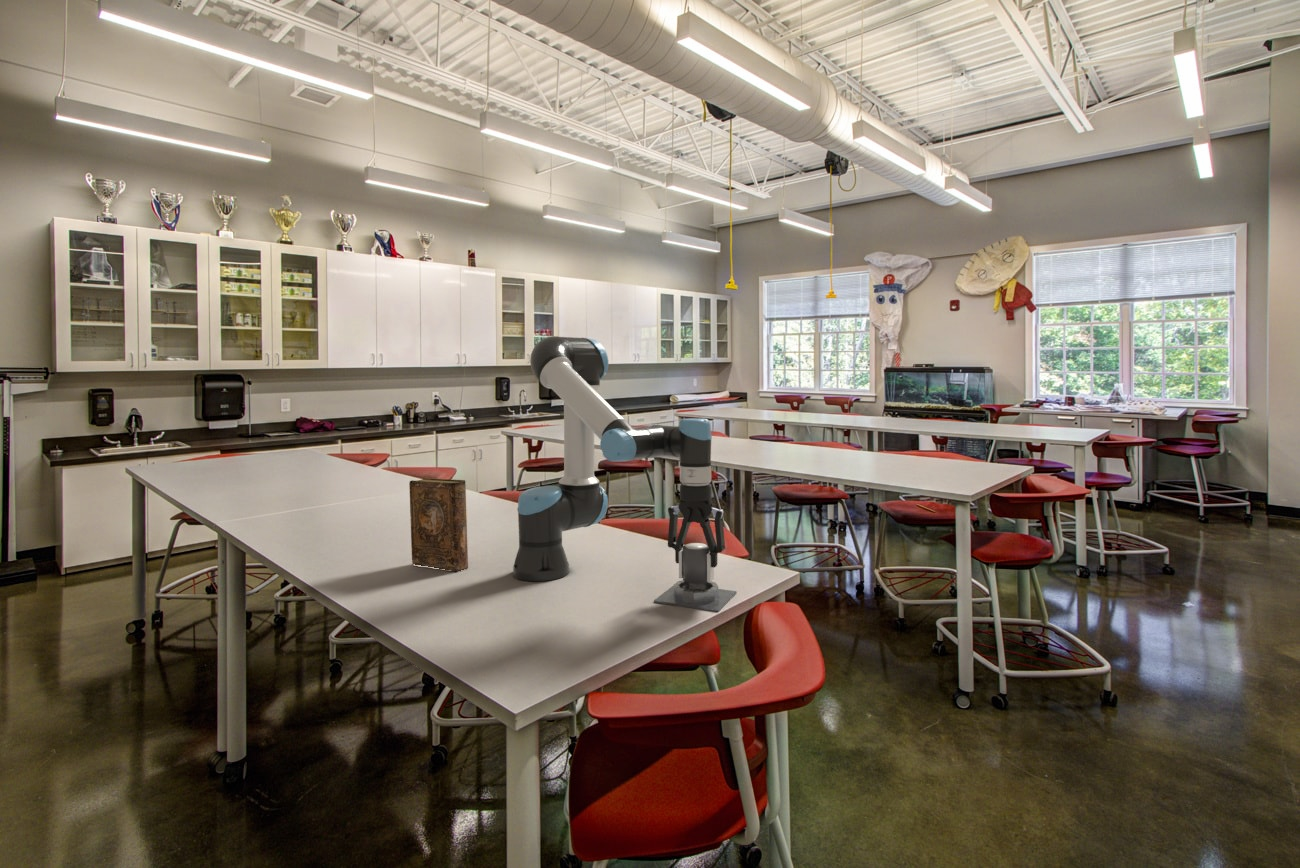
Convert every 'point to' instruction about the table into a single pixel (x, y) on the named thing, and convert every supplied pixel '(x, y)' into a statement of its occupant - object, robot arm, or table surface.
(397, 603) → the table surface
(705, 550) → the lens barrel
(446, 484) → the book
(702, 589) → the barrel mount
